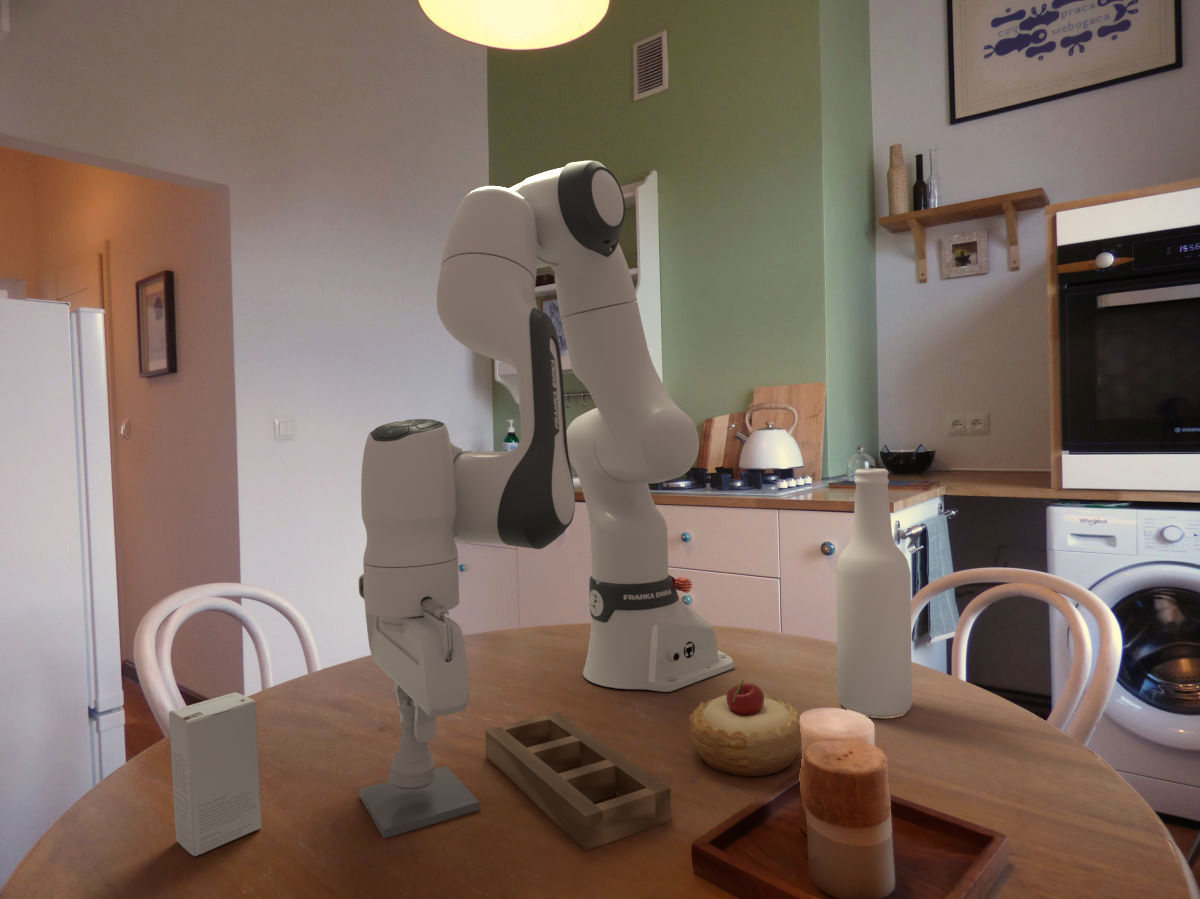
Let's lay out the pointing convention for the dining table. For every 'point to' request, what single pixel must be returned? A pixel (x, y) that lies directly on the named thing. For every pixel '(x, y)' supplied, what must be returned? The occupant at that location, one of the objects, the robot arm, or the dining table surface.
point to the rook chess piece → (411, 755)
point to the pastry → (746, 732)
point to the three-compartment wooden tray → (578, 779)
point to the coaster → (417, 803)
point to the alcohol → (873, 608)
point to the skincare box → (215, 772)
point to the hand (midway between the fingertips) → (417, 731)
